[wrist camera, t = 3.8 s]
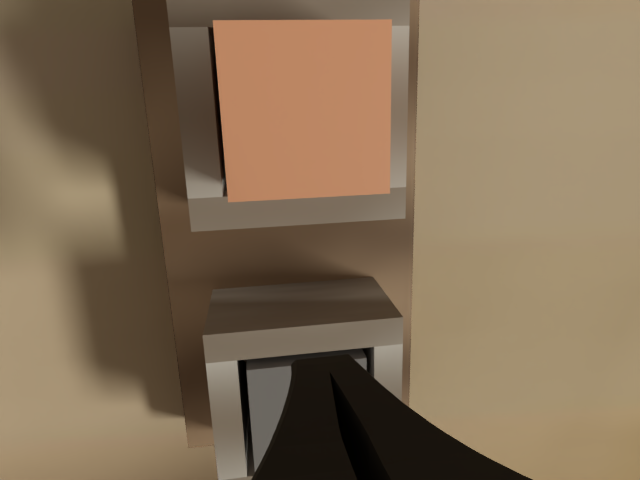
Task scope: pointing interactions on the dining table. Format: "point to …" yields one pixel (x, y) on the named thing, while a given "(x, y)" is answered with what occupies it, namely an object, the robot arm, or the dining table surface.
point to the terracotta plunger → (304, 107)
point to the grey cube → (276, 393)
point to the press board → (270, 227)
